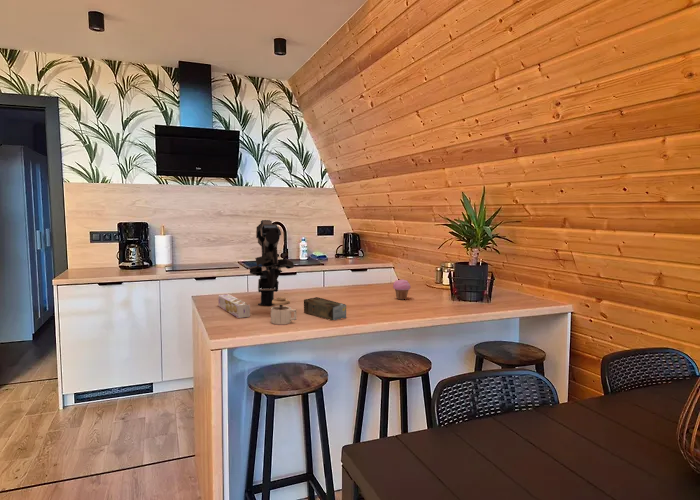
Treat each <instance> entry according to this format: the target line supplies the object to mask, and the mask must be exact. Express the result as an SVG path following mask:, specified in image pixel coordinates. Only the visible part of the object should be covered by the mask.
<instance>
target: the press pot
mask: <svg viewBox="0 0 700 500" xmlns="http://www.w3.org/2000/svg"><path fill="white" fill-rule="evenodd" d="M292 313H293V317H292ZM296 320H297V309H293V308H292V307H291V306H287V305H283V310H280V305H275V306H272V307H270V324H272V325H278V326H280V325H288V324H291V322H292V321H296Z"/></svg>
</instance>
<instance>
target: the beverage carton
mask: <svg viewBox="0 0 700 500" xmlns="http://www.w3.org/2000/svg"><path fill="white" fill-rule="evenodd" d="M303 313H304V314H307V315H312V316H314V315H315V317H318V318H321V317H322V318H321V319H325V318H326V319H325V320H328V319H330V320H329V321H332V320H335V321H338V320H337V319H339V320H342V319H341V318H344V319H346V318H347V304H345V303H342V302H337V301H334V300H330V299H326V298H322V297H317V296H315V297H311V298H305V299H303Z"/></svg>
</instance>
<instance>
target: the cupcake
mask: <svg viewBox="0 0 700 500" xmlns="http://www.w3.org/2000/svg"><path fill="white" fill-rule="evenodd" d="M392 288H393V289H394V291H395V297H396V299H398V300H404V299H405V300H407V298H408V294H409V290H410V289H411V284H410V282H409V281H408V280H406V279H403V278H402V279H397V280H395V281H394V282H393V286H392Z"/></svg>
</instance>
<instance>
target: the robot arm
mask: <svg viewBox="0 0 700 500" xmlns="http://www.w3.org/2000/svg"><path fill="white" fill-rule="evenodd" d="M281 236H282V231H281V229H280V228H279V226H278V224H277V223H274V224H273V221H272V220H270V219H262V220H260V223H259V224H258V225H257V226H256V230H255V237H256V239H257V243H258V245H259V246H260V247H261V256H258V257H255V262H256V263H255V264H256V265H253V266H251V267H250V268H249V274H250V275H253V276H255V277H256V276H257V277H259V278H258V282H257V292H258V293H260V302H259V303H258V304H257V305H259V306H267V307H271V306H274V305H275V304H272V300H274V299H275V295H274V293H275V292H278V291H279V281H278V278H279V276H280V275H281V273H283V270H282V268H284V267H285V268H286V269H287V270H289V269H293V268H294V262H293V260H290V259H288V258H284V259H278V258H279V257H280V254H279V253H278V244H279V241H280V237H281ZM259 265H261V266H259Z"/></svg>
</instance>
